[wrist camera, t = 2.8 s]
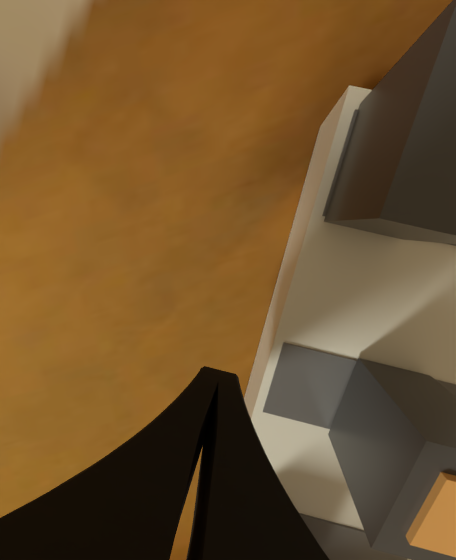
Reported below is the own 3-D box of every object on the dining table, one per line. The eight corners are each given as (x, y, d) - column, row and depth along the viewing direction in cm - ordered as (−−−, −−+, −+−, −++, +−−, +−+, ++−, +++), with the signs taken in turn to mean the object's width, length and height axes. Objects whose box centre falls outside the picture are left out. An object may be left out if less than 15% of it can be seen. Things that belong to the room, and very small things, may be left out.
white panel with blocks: (360, 523, 17) (450, 763, 9) (219, 485, 17) (196, 686, 10) (531, 171, 11) (1076, 66, 4) (320, 126, 12) (444, -50, 4)
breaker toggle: (393, 451, 11) (480, 586, 7) (328, 434, 11) (374, 557, 7) (429, 375, 10) (555, 479, 6) (358, 357, 10) (432, 447, 6)
